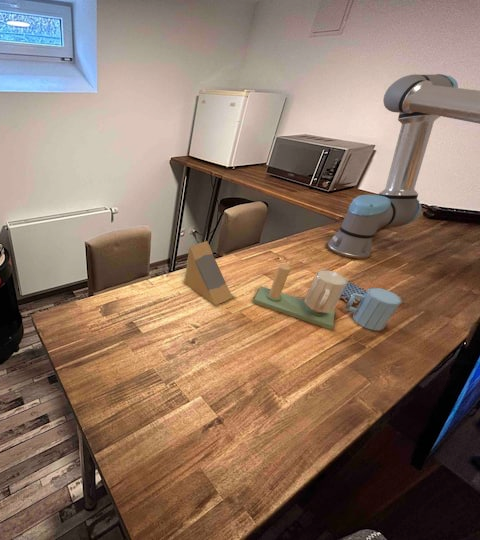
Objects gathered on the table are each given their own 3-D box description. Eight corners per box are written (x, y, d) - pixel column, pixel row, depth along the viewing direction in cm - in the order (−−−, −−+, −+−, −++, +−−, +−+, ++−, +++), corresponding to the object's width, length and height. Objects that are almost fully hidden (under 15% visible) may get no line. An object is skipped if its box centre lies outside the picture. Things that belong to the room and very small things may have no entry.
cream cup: (301, 311, 85) (314, 283, 80) (305, 293, 93) (317, 267, 87) (331, 321, 82) (347, 293, 76) (333, 302, 89) (347, 275, 84)
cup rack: (259, 289, 102) (270, 256, 94) (332, 313, 91) (351, 277, 84) (253, 302, 95) (264, 268, 88) (331, 329, 85) (351, 293, 78)
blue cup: (342, 306, 94) (356, 281, 88) (382, 319, 89) (399, 293, 83) (341, 320, 89) (356, 294, 83) (384, 334, 84) (402, 307, 78)
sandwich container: (215, 305, 94) (224, 266, 86) (183, 282, 105) (188, 246, 97) (233, 297, 98) (243, 259, 90) (200, 275, 109) (207, 240, 101)
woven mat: (320, 288, 102) (322, 283, 101) (340, 281, 106) (343, 277, 105) (350, 306, 94) (353, 301, 93) (371, 298, 98) (374, 293, 97)
